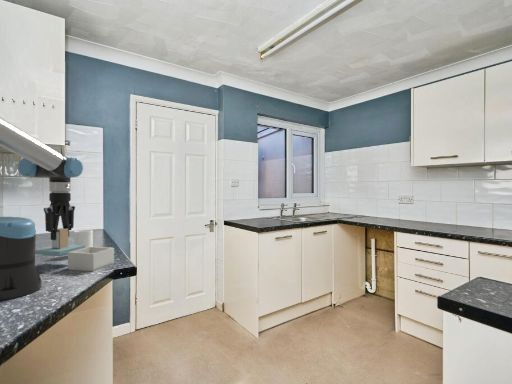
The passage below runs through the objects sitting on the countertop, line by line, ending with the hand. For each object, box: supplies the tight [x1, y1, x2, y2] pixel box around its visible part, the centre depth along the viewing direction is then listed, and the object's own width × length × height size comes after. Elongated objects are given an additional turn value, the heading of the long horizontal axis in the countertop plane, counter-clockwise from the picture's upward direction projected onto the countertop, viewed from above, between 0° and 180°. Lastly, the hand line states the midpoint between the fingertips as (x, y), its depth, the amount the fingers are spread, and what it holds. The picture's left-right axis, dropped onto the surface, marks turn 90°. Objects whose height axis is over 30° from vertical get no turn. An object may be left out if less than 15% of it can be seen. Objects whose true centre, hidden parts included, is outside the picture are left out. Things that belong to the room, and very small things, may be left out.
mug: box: [68, 229, 94, 248], centre depth 139 cm, size 12×8×12 cm
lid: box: [35, 227, 85, 257], centre depth 120 cm, size 13×13×10 cm
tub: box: [67, 246, 115, 272], centre depth 118 cm, size 12×12×7 cm
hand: (60, 246), depth 120 cm, fingers closed on lid, 4 cm apart
